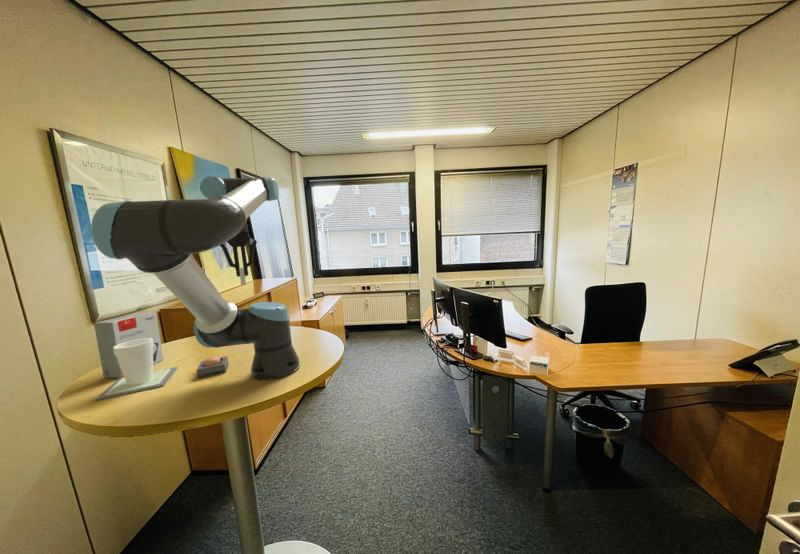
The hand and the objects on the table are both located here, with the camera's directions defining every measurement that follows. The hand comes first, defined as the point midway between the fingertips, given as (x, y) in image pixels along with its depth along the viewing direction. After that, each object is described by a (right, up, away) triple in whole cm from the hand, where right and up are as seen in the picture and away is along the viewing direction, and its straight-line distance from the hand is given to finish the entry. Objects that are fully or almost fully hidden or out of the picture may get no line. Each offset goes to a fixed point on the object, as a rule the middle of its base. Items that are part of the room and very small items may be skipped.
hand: (243, 284), depth 108 cm
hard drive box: (-39, -32, -2) cm, 50 cm away
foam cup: (-26, -32, -15) cm, 44 cm away
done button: (-6, -29, -9) cm, 31 cm away
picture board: (-26, -32, -15) cm, 44 cm away
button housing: (-6, -30, -9) cm, 32 cm away
